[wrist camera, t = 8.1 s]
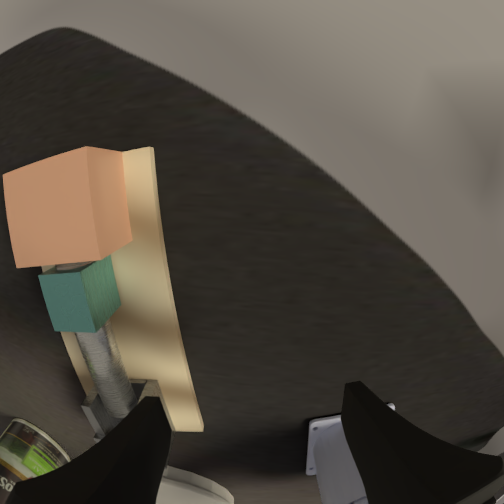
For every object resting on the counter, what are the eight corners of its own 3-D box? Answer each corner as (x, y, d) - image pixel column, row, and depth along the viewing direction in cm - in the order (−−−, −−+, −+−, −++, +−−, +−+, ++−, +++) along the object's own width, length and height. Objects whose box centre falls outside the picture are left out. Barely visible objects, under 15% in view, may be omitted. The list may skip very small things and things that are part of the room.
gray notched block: (175, 430, 21) (166, 469, 17) (122, 426, 21) (108, 460, 17) (157, 379, 20) (141, 419, 15) (99, 376, 20) (77, 410, 15)
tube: (148, 392, 20) (134, 426, 16) (112, 389, 20) (95, 421, 16) (100, 189, 16) (66, 194, 12) (61, 198, 16) (25, 205, 12)
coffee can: (30, 413, 23) (-23, 490, 9) (86, 468, 25) (53, 546, 11) (1, 419, 24) (-42, 479, 10) (49, 467, 26) (17, 529, 12)
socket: (132, 240, 17) (100, 260, 13) (55, 250, 17) (16, 268, 13) (122, 151, 16) (86, 146, 11) (44, 172, 16) (2, 174, 12)
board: (203, 425, 22) (202, 431, 21) (103, 417, 22) (101, 423, 21) (153, 147, 17) (149, 146, 16) (34, 177, 17) (27, 177, 16)
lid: (172, 433, 23) (166, 456, 20) (260, 510, 27) (261, 527, 24) (65, 445, 24) (56, 461, 21) (158, 518, 29) (155, 532, 26)
